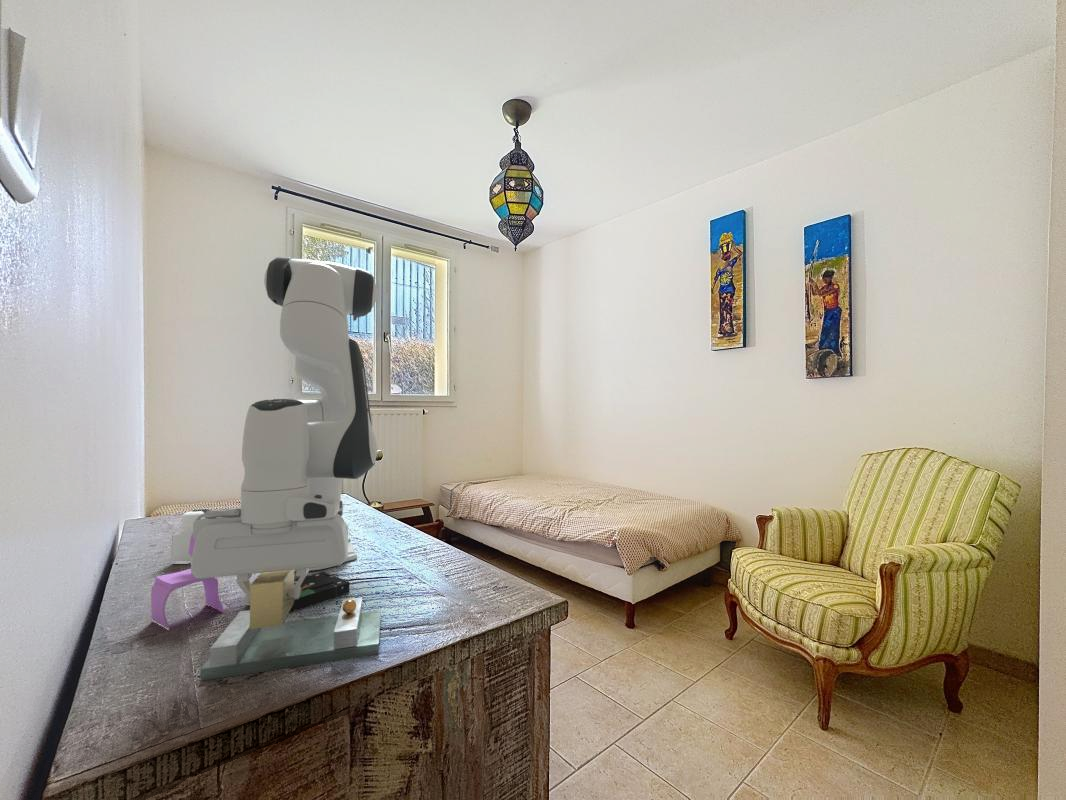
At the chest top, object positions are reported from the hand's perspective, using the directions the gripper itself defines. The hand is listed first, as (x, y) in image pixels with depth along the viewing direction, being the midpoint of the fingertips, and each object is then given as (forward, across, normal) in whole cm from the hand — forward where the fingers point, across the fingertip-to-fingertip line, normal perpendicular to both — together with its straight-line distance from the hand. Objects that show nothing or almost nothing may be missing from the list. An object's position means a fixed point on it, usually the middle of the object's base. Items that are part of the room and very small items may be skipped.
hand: (273, 600), depth 66 cm
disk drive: (+8, 0, +20) cm, 22 cm away
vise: (+7, +4, 0) cm, 8 cm away
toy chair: (+7, -17, +17) cm, 25 cm away
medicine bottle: (+7, -29, +54) cm, 62 cm away
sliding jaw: (+6, +11, 0) cm, 12 cm away
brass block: (+2, 0, 0) cm, 2 cm away
